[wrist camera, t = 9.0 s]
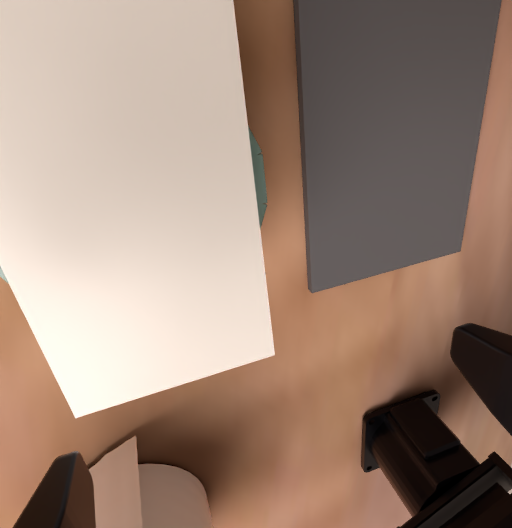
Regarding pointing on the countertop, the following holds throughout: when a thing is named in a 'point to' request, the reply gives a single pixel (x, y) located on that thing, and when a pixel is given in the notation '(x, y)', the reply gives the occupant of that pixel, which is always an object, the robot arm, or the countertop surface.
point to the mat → (388, 129)
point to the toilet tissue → (146, 493)
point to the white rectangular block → (129, 194)
